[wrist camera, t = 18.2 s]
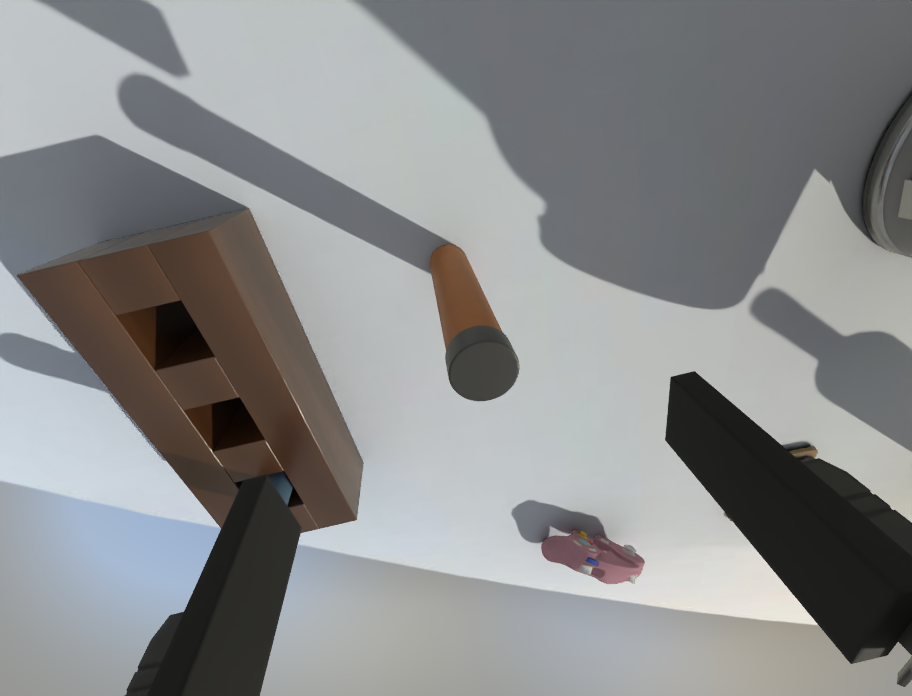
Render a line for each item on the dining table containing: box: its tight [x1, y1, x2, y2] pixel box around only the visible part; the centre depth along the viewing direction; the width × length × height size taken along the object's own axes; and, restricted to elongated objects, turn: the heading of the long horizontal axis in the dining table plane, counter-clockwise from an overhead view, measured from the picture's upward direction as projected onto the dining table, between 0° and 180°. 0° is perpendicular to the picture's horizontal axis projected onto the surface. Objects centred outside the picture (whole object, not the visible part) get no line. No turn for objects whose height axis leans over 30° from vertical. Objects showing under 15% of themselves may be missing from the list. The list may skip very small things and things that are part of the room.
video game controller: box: [541, 530, 645, 584], centre depth 43 cm, size 10×5×7 cm, turn 65°
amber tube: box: [430, 245, 519, 401], centre depth 21 cm, size 3×3×14 cm
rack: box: [17, 208, 363, 533], centre depth 27 cm, size 10×22×6 cm, turn 11°
